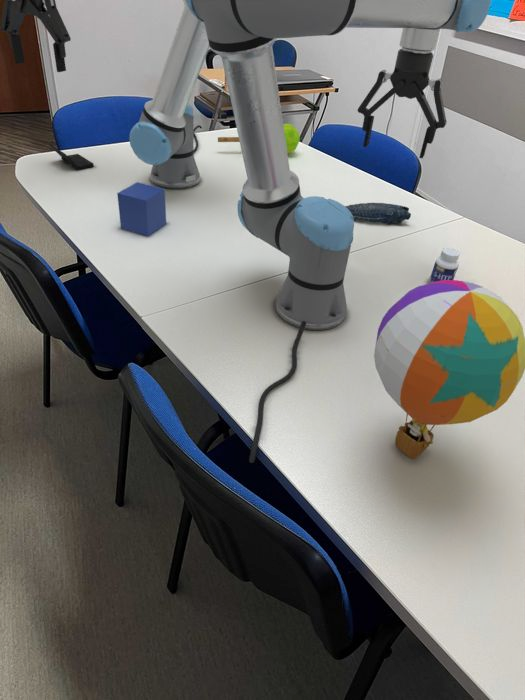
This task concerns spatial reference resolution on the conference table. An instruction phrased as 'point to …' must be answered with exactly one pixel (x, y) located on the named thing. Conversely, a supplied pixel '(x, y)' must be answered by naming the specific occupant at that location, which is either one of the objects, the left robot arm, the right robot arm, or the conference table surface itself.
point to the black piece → (74, 160)
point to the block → (142, 208)
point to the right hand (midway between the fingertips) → (393, 151)
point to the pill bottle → (445, 265)
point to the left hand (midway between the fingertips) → (40, 67)
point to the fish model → (379, 212)
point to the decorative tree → (290, 137)
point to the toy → (448, 357)
